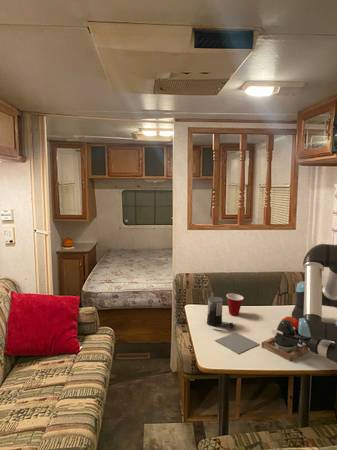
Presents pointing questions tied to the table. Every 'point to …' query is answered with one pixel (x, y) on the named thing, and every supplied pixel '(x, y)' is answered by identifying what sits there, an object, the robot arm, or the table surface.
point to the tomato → (293, 322)
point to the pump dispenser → (287, 329)
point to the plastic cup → (234, 303)
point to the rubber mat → (237, 343)
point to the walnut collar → (289, 357)
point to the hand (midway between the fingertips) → (277, 328)
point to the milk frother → (215, 312)
